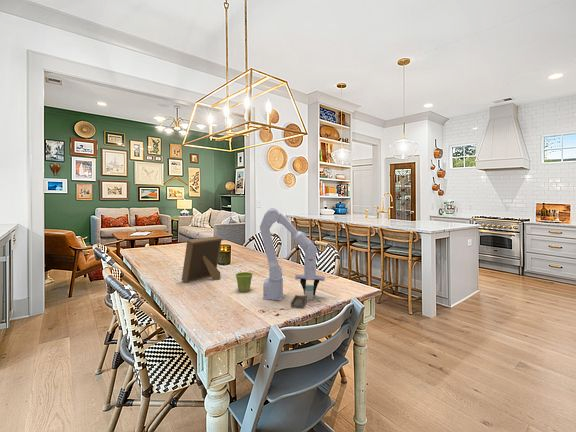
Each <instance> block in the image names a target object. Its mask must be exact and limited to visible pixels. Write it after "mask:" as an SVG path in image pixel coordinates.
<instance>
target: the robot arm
mask: <svg viewBox="0 0 576 432" xmlns="http://www.w3.org/2000/svg"><path fill="white" fill-rule="evenodd" d="M262 217H263V218H262V220H261V222H260V225H259V231H260V234H261V238H262V243H263V246H264V251H265V255H266V258H267V263H268V268H269V270H268V272H269V274H268V275H269V276H268V278H266V279H264V281H263V283H262V284H263V285H262V286H263V288H262V299H264V300H273V301H282V300H283V299H284V297H285V296H286V295H285V294H284V290H283V289H284V279H283V272H282V271H283V270H282V266H281V265H280V264H279V262H278V259H277V254H276V248H275V247H274V241H273V238H272V234H271V230H270V229H271V228H272V226H273V225H274V224H275V223H277V224H279V225H283V226H284V227H285V229H286V230H287V231H289V233H291V235H292V236H293V241H295V243H296V244H297V245H298V246H299V247H300V248H301V250H303V251H304V259H303V261H304V262H303V263H304V266H303V267H304V268H303V274H295V276H294V279H295V280H300V281H299V283H300V284H301V286H302V289H303V295H305V288H306V285H307V281H308V280H309V281H313V285H314V292H313V295H314V296H315V295H316V291H317V288H318V285H319V283H320V281H322V282H325V281H326V279H325V278H326V277H325V275H317V271H316V270H317V257H316V256H317V253H318V250H317V249H318V248H317V246H316V245H315V244H314V243H313V241H312V240H310V239H309V237H308V236H306V235H307V234H306V233H305V232H302V230H301V231H299V230H298V229H296V227H295V226H294V225H293V224H292V223H291V222H290V221H289V219H288V218H287V217H286V216H285V215H283V214H282V213H281V212H279V210H278V209H276V208H269V209H268V210H267V211H266V212H265V213H264V215H263V216H262Z"/></svg>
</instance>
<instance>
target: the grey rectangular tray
mask: <svg viewBox="0 0 576 432" xmlns="http://www.w3.org/2000/svg"><path fill="white" fill-rule="evenodd" d="M307 301H308V300H307V296H305V295H304V294H303V295H301V294H295V295H294V297H293V299H292V300H291V302H290V308H292V309H304V308H305V306H306V303H307Z"/></svg>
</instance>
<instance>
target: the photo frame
mask: <svg viewBox="0 0 576 432" xmlns="http://www.w3.org/2000/svg"><path fill="white" fill-rule="evenodd" d="M221 244H222V238H221V237H220V236H218V235H216V236H215V235H214V236H208V237H200V238H192V239H187V240H186V246H185V252H184V253H185V255H184V260H183V266H182V267H183V268H182V275H181V281H182V282H184V283H191V282H194V281H199V280H202V279H206V278H210V277H211V279H212V281H218V280H221V272H220V270H219V269H218V263H219V256H220V252H221V247H222V246H221Z"/></svg>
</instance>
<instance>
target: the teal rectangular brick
mask: <svg viewBox="0 0 576 432" xmlns="http://www.w3.org/2000/svg"><path fill="white" fill-rule="evenodd" d="M313 292H314V284H306V288H305V294H304V296H307V301H308V300H311V301H314V298H315V295H313Z"/></svg>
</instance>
